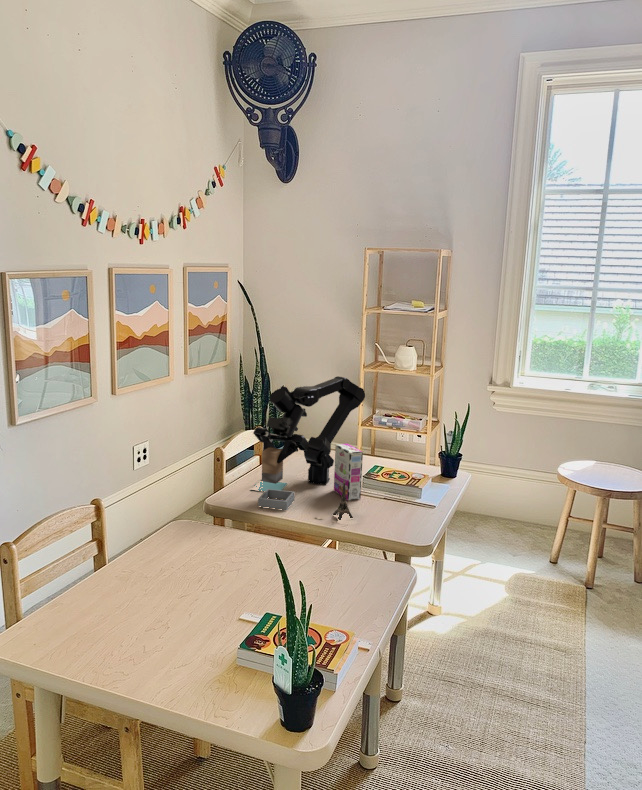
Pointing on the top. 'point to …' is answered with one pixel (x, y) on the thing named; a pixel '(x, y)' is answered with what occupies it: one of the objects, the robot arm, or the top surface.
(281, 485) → the mat
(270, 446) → the robot arm
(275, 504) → the crate
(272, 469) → the block
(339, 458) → the candy bar box
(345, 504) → the eiffel tower figurine
